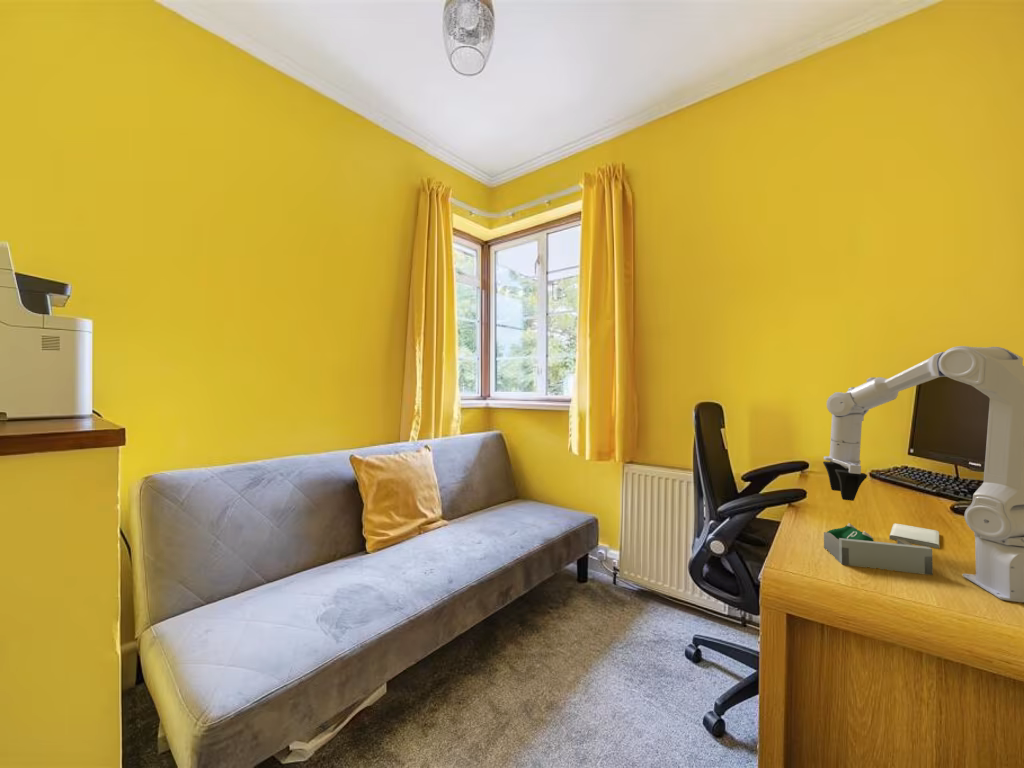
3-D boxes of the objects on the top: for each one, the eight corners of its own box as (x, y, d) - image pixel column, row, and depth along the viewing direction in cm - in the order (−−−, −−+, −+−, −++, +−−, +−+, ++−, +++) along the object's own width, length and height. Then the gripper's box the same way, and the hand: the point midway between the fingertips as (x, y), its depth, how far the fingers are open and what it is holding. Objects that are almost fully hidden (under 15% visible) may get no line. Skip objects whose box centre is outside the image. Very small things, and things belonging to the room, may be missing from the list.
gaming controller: (859, 561, 88) (882, 544, 87) (845, 548, 88) (867, 530, 88) (834, 545, 97) (854, 529, 96) (822, 533, 97) (842, 517, 97)
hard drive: (939, 544, 90) (939, 530, 98) (889, 534, 96) (893, 522, 104) (939, 551, 90) (939, 537, 98) (889, 541, 96) (893, 528, 104)
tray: (932, 575, 77) (932, 549, 77) (841, 564, 82) (841, 540, 82) (904, 556, 86) (904, 532, 86) (824, 547, 91) (823, 525, 91)
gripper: (816, 434, 107) (813, 484, 108) (835, 445, 94) (832, 501, 95) (849, 437, 104) (846, 488, 105) (873, 448, 91) (870, 506, 92)
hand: (842, 495), depth 100 cm, fingers open, 7 cm apart
